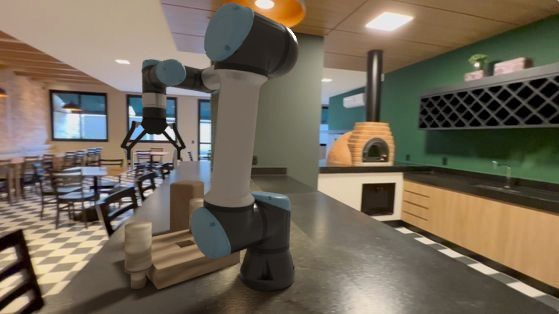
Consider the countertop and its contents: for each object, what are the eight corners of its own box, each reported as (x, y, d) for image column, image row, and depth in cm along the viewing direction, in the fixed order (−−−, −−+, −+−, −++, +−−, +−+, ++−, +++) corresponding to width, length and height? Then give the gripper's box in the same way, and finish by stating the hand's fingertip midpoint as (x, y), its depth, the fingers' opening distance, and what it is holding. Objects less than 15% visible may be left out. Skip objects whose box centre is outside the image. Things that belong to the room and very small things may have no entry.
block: (192, 237, 103) (192, 184, 101) (168, 234, 105) (168, 183, 103) (204, 228, 112) (205, 181, 111) (182, 226, 114) (183, 179, 113)
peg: (155, 286, 68) (155, 225, 67) (128, 295, 64) (127, 230, 63) (147, 276, 72) (147, 219, 71) (121, 284, 68) (121, 224, 67)
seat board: (239, 262, 83) (240, 210, 82) (158, 289, 66) (158, 225, 65) (203, 239, 100) (203, 196, 99) (131, 256, 84) (131, 206, 83)
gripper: (191, 111, 101) (191, 167, 102) (113, 106, 91) (114, 169, 92) (193, 108, 94) (193, 169, 95) (110, 103, 84) (110, 171, 85)
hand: (154, 169), depth 93 cm, fingers open, 13 cm apart
